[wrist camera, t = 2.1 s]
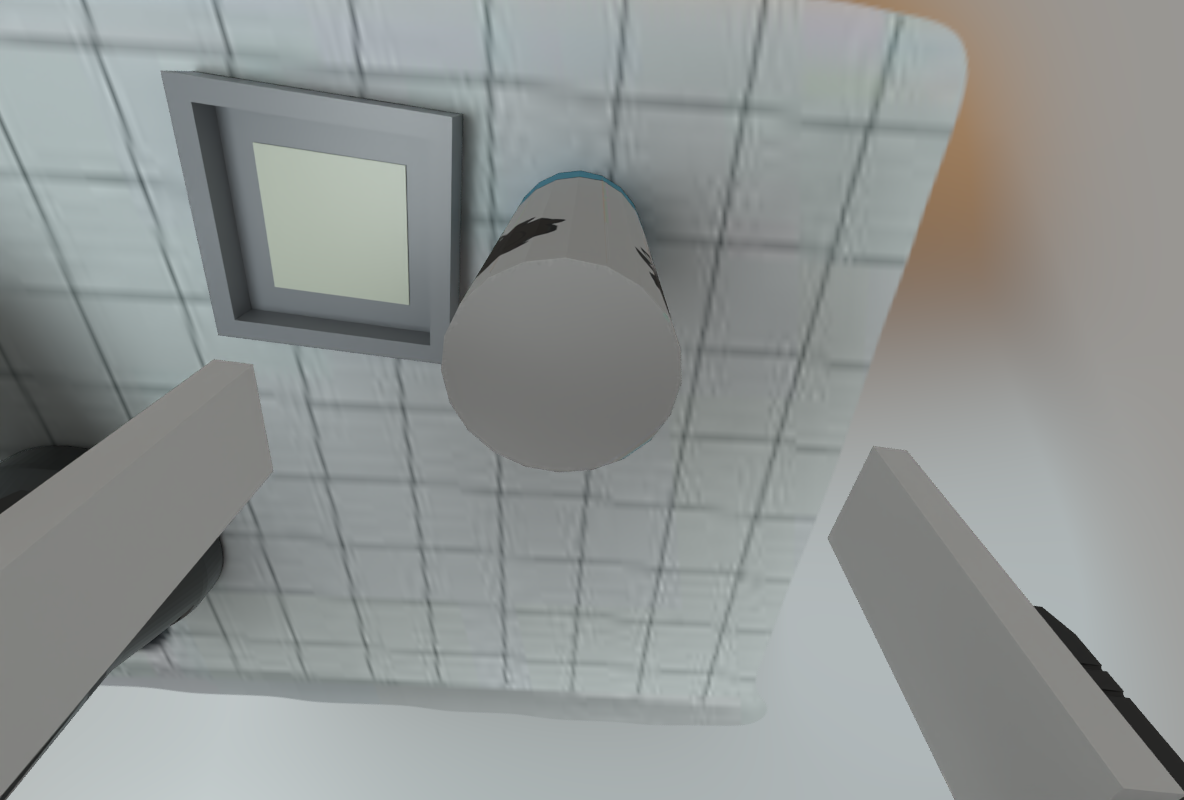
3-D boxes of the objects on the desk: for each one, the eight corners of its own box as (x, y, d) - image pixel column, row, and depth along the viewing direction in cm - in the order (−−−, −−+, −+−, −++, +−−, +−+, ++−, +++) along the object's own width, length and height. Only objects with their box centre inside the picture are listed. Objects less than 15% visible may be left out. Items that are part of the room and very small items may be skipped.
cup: (486, 249, 29) (396, 390, 16) (566, 139, 26) (536, 199, 13) (587, 326, 31) (580, 506, 18) (669, 231, 28) (733, 362, 15)
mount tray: (241, 319, 31) (218, 335, 29) (194, 71, 25) (160, 70, 23) (457, 347, 31) (448, 365, 30) (462, 114, 25) (452, 116, 23)
